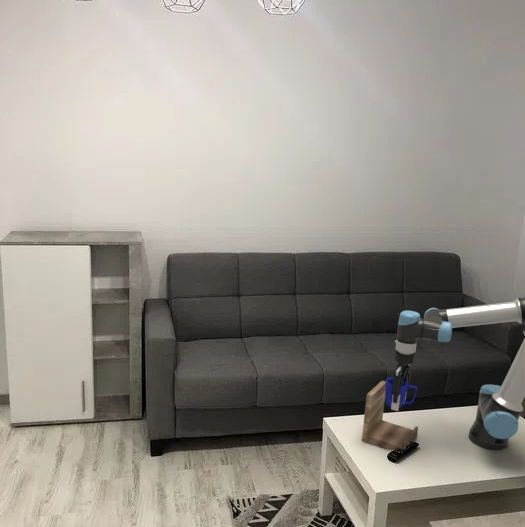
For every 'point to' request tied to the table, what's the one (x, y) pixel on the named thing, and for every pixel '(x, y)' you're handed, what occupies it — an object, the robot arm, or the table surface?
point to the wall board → (373, 409)
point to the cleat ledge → (391, 436)
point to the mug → (402, 392)
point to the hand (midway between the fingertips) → (398, 406)
